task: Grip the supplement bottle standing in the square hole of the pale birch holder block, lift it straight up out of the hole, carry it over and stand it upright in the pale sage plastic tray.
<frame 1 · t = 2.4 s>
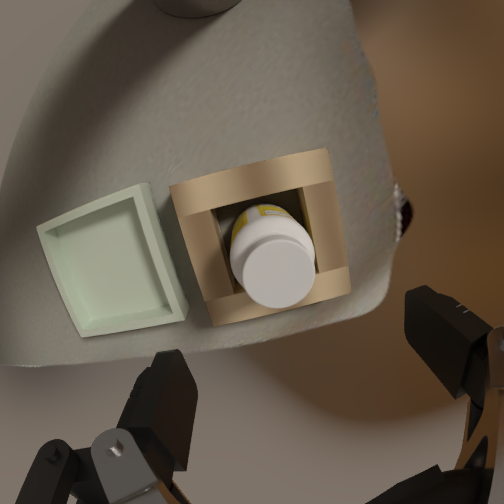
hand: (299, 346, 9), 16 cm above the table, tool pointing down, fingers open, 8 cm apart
tray: (112, 262, 25), on the table
holder block: (264, 233, 24), on the table
supplement bottle: (264, 233, 24), resting in holder block
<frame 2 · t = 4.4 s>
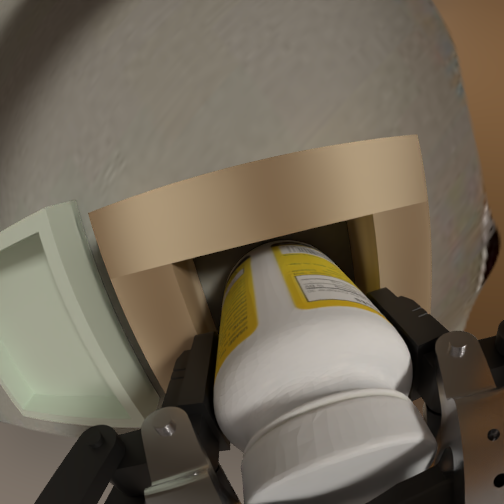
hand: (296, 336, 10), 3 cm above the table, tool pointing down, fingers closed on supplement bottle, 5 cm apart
tray: (42, 326, 13), on the table
holder block: (283, 295, 13), on the table
supplement bottle: (282, 293, 13), resting in holder block, touching gripper
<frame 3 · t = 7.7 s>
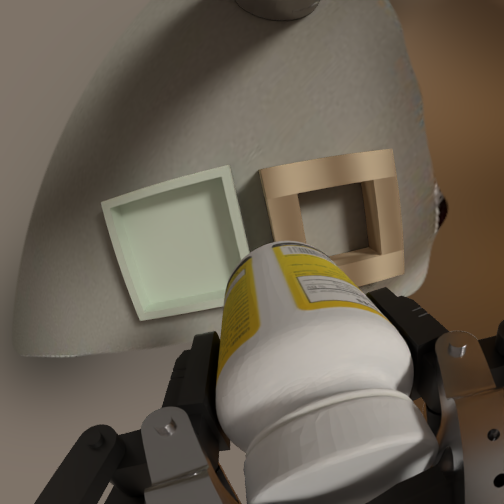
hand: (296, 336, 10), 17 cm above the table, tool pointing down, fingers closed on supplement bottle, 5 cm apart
tray: (183, 243, 26), on the table
holder block: (332, 220, 26), on the table
supplement bottle: (283, 293, 13), point 14 cm above the table, touching gripper
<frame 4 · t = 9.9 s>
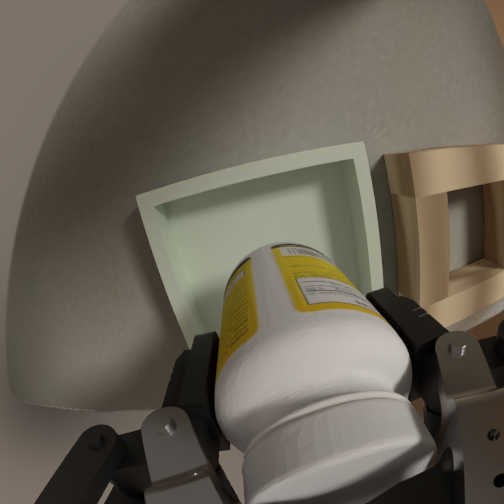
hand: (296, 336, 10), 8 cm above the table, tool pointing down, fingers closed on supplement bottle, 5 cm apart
tray: (272, 262, 17), on the table
holder block: (457, 226, 17), on the table
supplement bottle: (283, 294, 13), point 4 cm above the table, touching gripper
when the fingers open (5 cm above the table, at t = 11.3 s): supplement bottle drops 1 cm, resting on tray.
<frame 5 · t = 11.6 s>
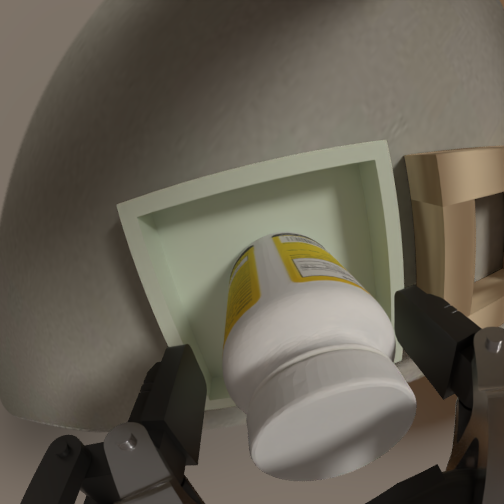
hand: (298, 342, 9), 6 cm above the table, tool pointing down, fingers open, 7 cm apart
tray: (278, 279, 15), on the table
holder block: (478, 235, 15), on the table
supplement bottle: (282, 280, 15), resting on tray
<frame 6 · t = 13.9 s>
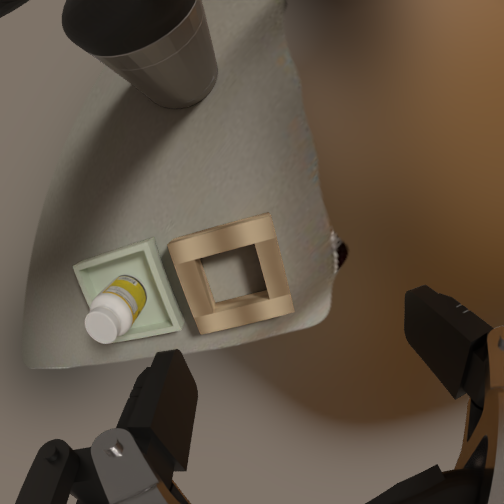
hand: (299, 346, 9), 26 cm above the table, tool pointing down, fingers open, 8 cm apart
tray: (130, 291, 36), on the table
holder block: (233, 271, 35), on the table
supplement bottle: (130, 291, 35), resting on tray
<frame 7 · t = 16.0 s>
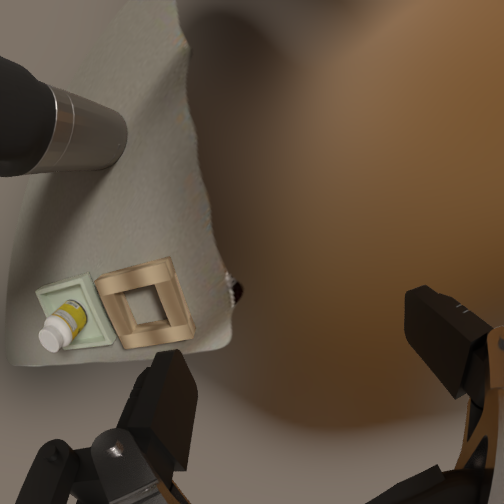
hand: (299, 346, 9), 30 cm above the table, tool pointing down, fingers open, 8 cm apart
tray: (77, 311, 41), on the table
holder block: (147, 301, 41), on the table
supplement bottle: (77, 311, 41), resting on tray
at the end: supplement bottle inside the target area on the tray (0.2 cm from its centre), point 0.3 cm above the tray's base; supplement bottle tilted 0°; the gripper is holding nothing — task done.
